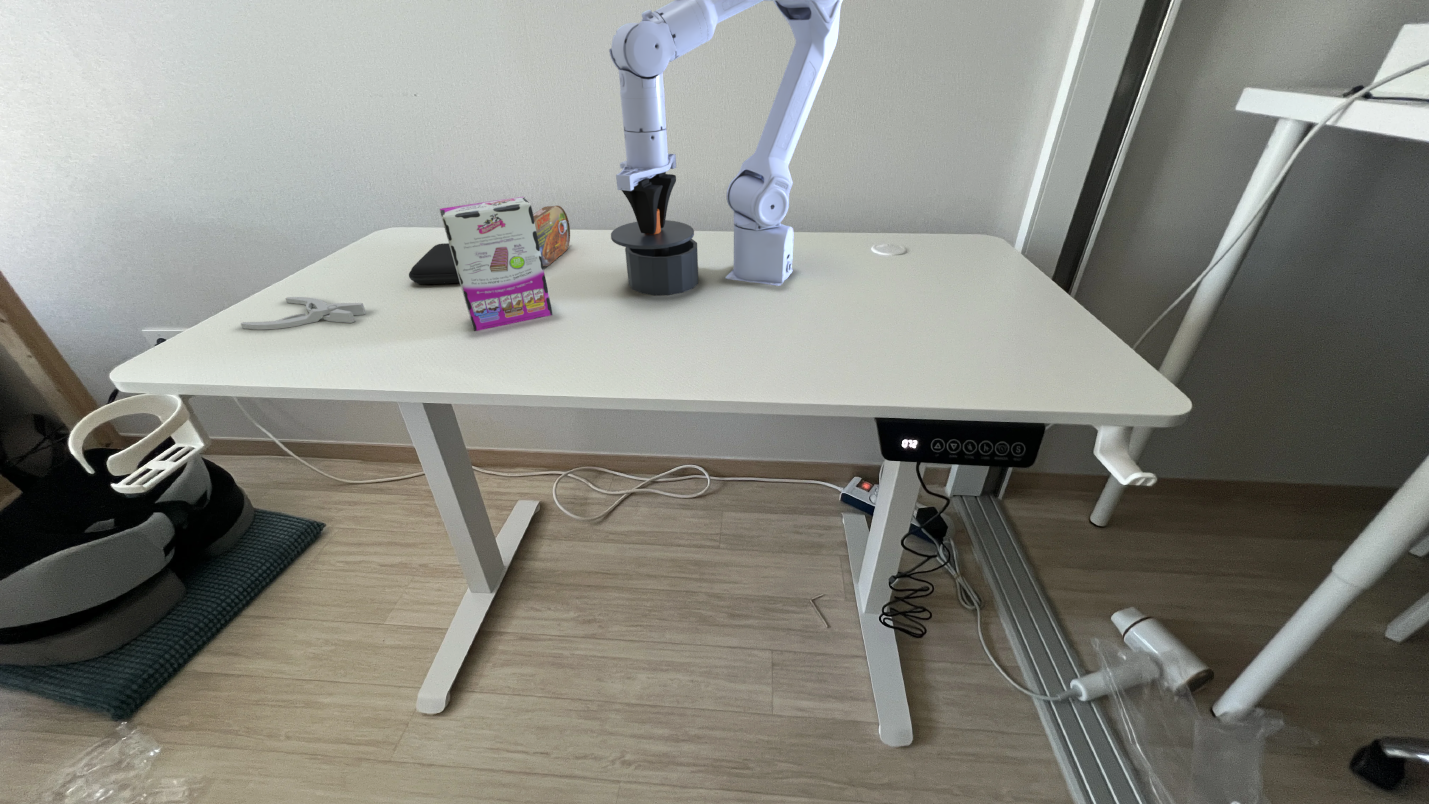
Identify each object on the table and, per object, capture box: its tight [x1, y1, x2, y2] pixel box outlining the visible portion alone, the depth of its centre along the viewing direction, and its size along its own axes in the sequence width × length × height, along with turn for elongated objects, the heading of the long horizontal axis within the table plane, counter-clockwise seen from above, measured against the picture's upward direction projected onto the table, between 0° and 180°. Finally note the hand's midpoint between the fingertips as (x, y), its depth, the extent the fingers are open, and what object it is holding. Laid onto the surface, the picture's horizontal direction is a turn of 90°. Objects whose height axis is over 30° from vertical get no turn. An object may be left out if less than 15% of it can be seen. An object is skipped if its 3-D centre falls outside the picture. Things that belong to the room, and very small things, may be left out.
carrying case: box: [408, 242, 460, 285], centre depth 101 cm, size 11×3×15 cm
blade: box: [654, 247, 669, 257], centre depth 94 cm, size 5×5×6 cm
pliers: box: [240, 296, 367, 331], centre depth 87 cm, size 10×2×15 cm
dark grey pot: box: [624, 238, 699, 296], centre depth 94 cm, size 11×11×6 cm
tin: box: [533, 205, 571, 267], centre depth 104 cm, size 15×3×8 cm, turn 168°
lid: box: [610, 209, 695, 249], centre depth 86 cm, size 12×12×4 cm
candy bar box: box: [439, 196, 554, 332], centre depth 81 cm, size 11×5×16 cm, turn 117°
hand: (652, 229), depth 86 cm, fingers closed on lid, 2 cm apart
